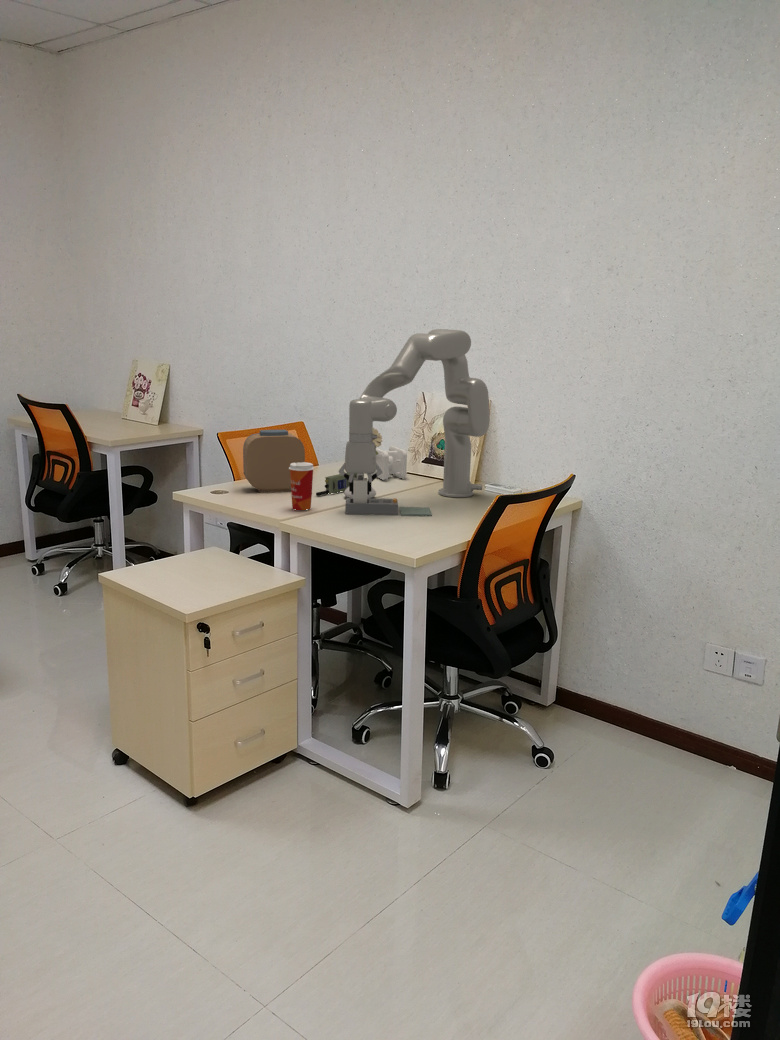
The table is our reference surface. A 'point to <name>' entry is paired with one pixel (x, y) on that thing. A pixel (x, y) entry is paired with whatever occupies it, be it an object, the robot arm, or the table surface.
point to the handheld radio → (336, 484)
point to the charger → (360, 490)
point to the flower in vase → (373, 492)
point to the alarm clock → (271, 459)
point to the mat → (415, 511)
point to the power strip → (372, 507)
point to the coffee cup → (301, 485)
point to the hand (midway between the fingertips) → (360, 493)
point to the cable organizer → (392, 462)
